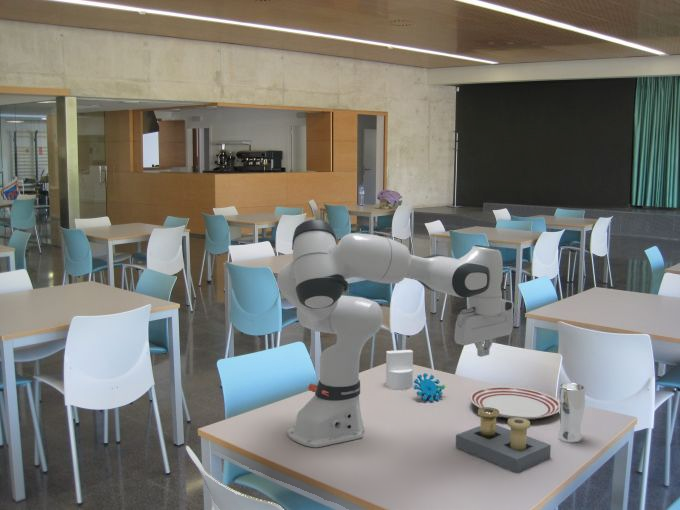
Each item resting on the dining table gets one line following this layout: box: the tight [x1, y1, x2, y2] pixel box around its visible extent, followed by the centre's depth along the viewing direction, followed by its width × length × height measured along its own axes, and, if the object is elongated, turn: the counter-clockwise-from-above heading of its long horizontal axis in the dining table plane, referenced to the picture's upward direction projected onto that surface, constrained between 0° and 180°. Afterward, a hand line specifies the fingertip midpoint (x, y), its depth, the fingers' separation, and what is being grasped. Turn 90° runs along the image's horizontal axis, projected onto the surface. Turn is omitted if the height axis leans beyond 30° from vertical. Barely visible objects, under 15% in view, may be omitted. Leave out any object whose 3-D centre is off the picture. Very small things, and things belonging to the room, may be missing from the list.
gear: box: [413, 372, 446, 403], centre depth 230 cm, size 11×6×10 cm
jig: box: [455, 418, 552, 474], centre depth 186 cm, size 20×14×10 cm
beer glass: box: [557, 382, 586, 444], centre depth 195 cm, size 7×7×15 cm
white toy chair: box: [385, 349, 414, 391], centre depth 241 cm, size 9×9×12 cm
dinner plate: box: [469, 386, 559, 421], centre depth 219 cm, size 28×27×3 cm
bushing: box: [477, 407, 499, 439], centre depth 190 cm, size 6×6×10 cm
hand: (483, 355), depth 191 cm, fingers closed
